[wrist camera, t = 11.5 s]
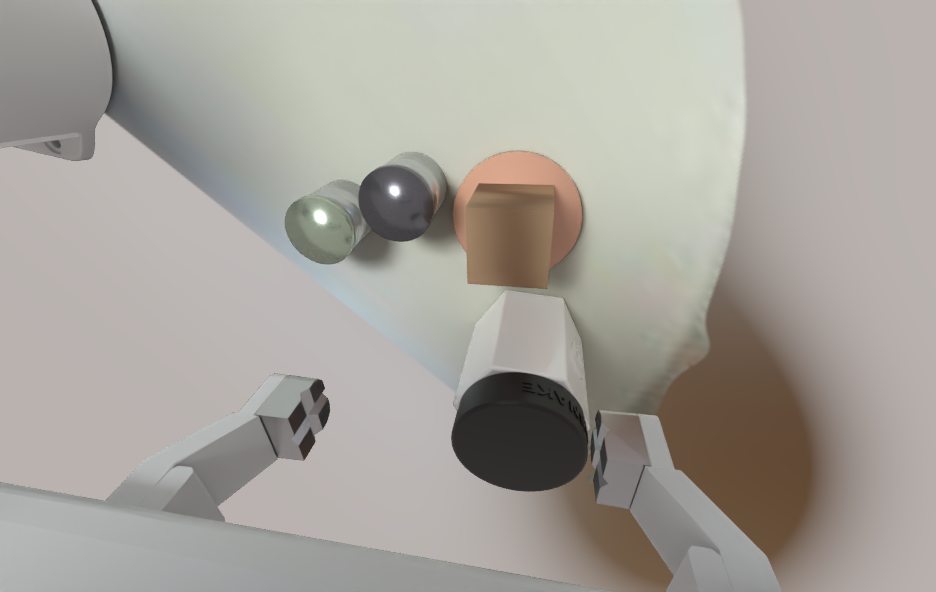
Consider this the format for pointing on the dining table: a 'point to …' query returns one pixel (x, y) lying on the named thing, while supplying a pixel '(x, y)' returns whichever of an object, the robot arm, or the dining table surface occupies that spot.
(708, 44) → the dining table surface
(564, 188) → the pink glossy round part
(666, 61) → the dining table surface
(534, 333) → the jar
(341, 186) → the tin
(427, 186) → the tin
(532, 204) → the walnut block
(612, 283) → the dining table surface
